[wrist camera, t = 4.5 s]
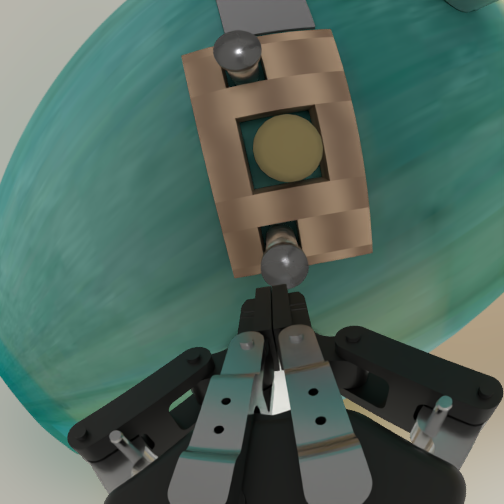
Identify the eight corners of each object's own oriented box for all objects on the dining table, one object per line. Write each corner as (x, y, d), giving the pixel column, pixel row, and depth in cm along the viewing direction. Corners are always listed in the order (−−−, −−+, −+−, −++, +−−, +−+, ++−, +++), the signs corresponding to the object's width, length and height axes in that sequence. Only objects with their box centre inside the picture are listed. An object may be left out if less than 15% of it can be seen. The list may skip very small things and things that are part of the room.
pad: (292, -28, 19) (292, -31, 18) (314, 28, 22) (315, 26, 22) (211, -16, 20) (211, -18, 19) (227, 41, 23) (226, 39, 23)
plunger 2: (294, 216, 28) (304, 241, 21) (300, 250, 29) (311, 284, 22) (259, 223, 29) (256, 250, 21) (266, 256, 30) (265, 292, 22)
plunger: (258, 56, 23) (255, 26, 16) (266, 86, 25) (266, 64, 17) (223, 63, 24) (209, 36, 16) (231, 93, 25) (218, 74, 18)
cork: (310, 175, 29) (334, 189, 18) (255, 177, 29) (248, 192, 19) (307, 121, 27) (330, 105, 16) (251, 123, 27) (242, 107, 17)
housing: (323, 42, 23) (330, 29, 19) (361, 240, 31) (372, 252, 27) (191, 66, 25) (181, 55, 21) (238, 263, 33) (234, 278, 29)
